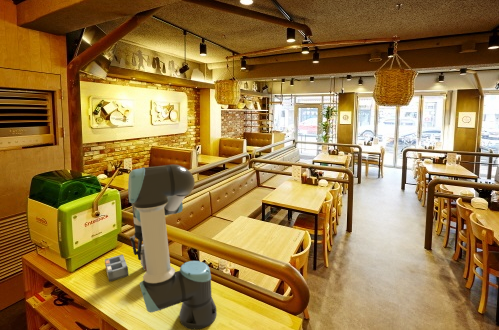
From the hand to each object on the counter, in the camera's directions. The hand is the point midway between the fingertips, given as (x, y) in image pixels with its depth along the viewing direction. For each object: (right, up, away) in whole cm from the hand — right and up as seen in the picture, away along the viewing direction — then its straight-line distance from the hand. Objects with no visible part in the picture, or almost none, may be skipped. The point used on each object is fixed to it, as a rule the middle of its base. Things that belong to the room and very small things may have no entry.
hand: (146, 263), depth 151 cm
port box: (-15, -4, -2) cm, 15 cm away
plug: (0, -3, +1) cm, 3 cm away
